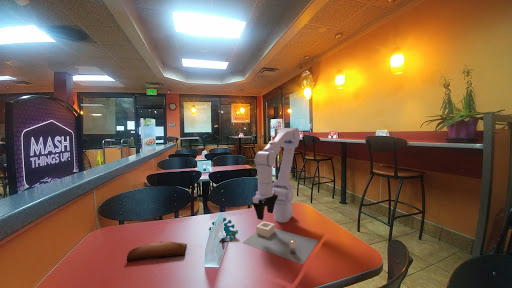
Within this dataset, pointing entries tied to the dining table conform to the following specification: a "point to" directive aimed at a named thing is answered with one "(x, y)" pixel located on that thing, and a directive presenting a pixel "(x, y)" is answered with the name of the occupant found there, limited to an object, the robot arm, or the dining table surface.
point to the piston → (292, 246)
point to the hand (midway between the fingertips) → (265, 215)
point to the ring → (265, 229)
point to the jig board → (283, 245)
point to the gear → (227, 230)
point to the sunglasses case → (157, 250)
